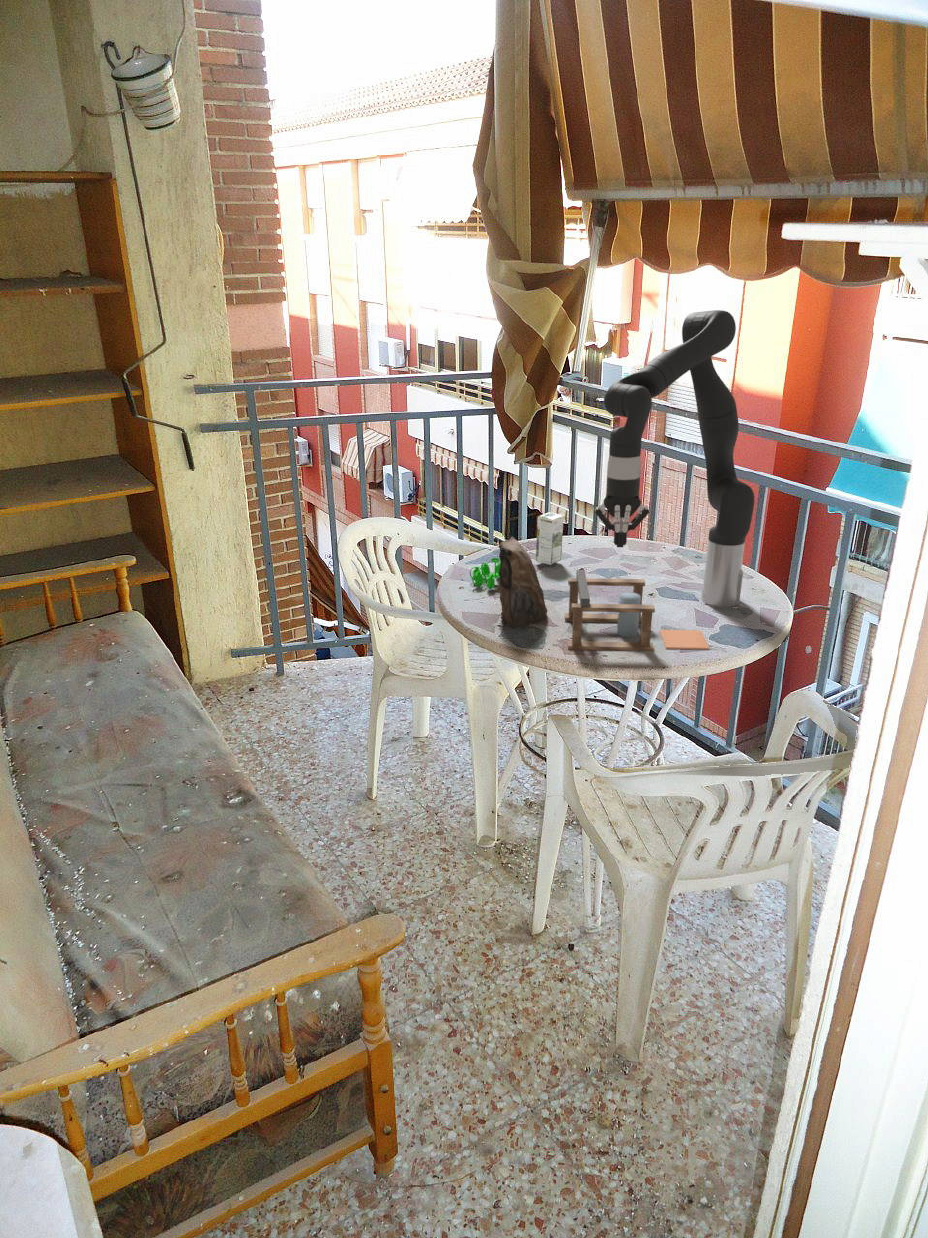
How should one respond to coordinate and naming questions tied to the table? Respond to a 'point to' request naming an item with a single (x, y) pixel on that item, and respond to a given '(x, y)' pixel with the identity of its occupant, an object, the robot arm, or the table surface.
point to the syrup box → (549, 538)
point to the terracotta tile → (683, 639)
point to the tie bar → (582, 588)
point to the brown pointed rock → (519, 586)
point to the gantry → (608, 616)
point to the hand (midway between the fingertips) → (619, 546)
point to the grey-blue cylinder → (628, 616)
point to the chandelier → (486, 574)
